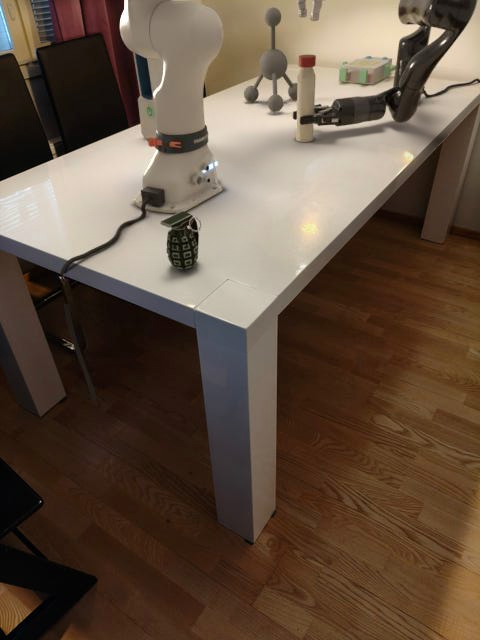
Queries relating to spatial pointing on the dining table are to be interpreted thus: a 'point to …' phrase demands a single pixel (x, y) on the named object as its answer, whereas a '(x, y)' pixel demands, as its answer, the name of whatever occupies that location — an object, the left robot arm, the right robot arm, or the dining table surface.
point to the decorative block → (366, 70)
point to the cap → (307, 61)
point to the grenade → (182, 240)
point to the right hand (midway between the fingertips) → (296, 118)
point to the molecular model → (272, 67)
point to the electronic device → (148, 92)
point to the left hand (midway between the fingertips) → (308, 19)
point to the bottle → (305, 103)
